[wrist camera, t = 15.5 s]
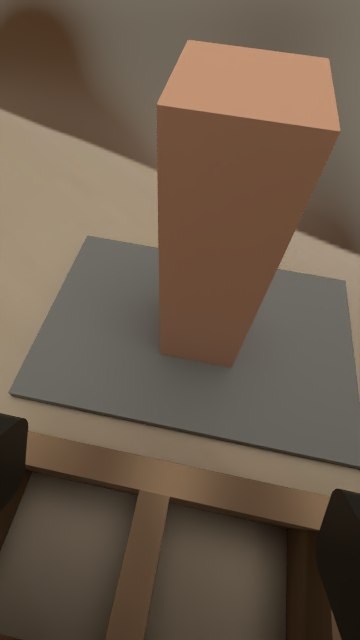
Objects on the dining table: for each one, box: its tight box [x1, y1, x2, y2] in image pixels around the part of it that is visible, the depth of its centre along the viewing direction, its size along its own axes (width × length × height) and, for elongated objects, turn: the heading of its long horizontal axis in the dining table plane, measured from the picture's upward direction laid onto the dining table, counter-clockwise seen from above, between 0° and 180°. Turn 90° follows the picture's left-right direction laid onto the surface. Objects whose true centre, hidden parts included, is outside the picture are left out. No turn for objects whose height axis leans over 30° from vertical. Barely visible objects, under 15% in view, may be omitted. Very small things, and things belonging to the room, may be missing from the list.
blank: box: [157, 40, 340, 368], centre depth 15 cm, size 4×4×14 cm
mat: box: [9, 236, 360, 469], centre depth 21 cm, size 20×13×1 cm, turn 79°
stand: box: [0, 431, 342, 640], centre depth 12 cm, size 23×8×4 cm, turn 79°
